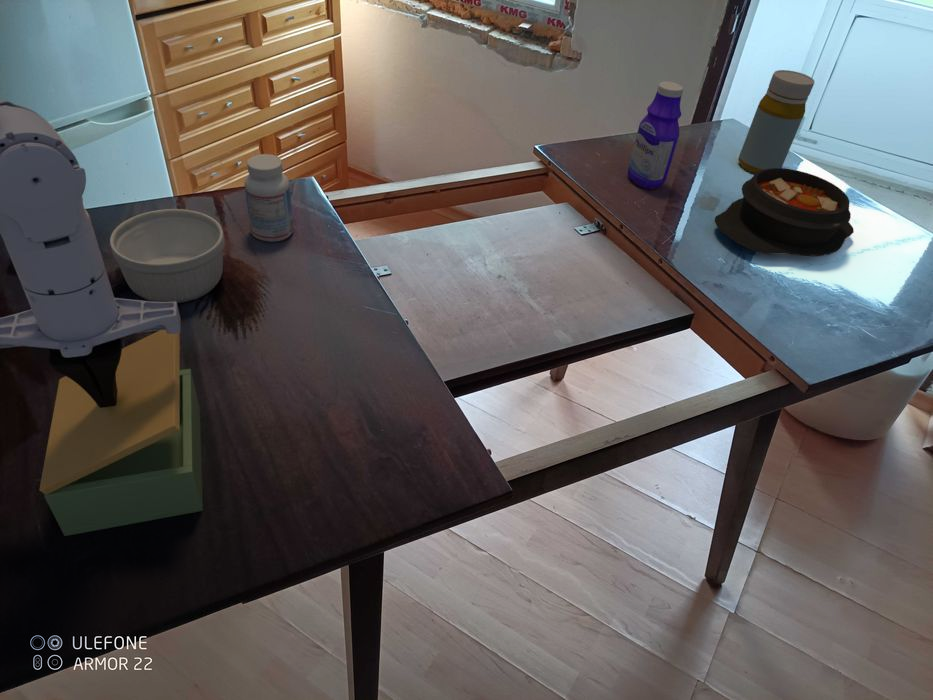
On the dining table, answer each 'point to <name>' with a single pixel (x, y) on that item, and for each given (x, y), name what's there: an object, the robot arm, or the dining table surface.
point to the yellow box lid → (115, 413)
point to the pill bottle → (268, 199)
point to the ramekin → (169, 254)
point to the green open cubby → (139, 479)
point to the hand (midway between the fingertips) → (108, 399)
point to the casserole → (788, 214)
